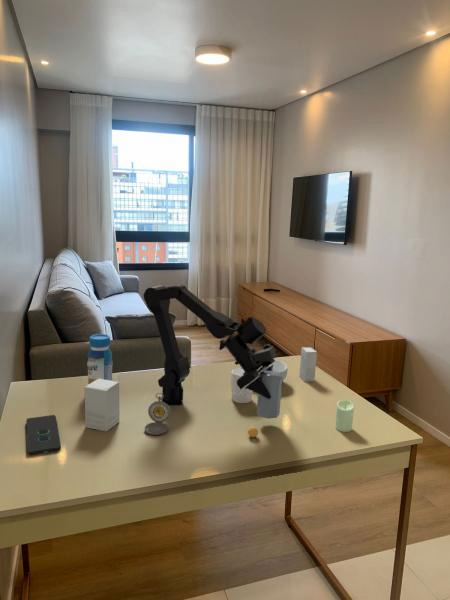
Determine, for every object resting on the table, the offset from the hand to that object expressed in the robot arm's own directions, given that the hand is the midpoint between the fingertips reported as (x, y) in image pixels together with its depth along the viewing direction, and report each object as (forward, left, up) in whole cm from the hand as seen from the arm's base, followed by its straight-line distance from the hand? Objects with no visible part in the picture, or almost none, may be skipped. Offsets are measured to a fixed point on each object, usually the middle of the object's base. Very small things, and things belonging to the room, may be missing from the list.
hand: (273, 394), depth 136 cm
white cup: (-5, +20, -10) cm, 23 cm away
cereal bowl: (+7, +35, -10) cm, 37 cm away
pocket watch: (-34, +1, -10) cm, 36 cm away
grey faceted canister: (-1, +1, -7) cm, 7 cm away
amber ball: (-7, -6, -10) cm, 14 cm away
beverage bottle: (-53, +29, -10) cm, 61 cm away
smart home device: (-66, -1, -11) cm, 67 cm away
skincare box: (+25, +38, -10) cm, 46 cm away
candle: (+22, -3, -10) cm, 24 cm away
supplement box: (-50, +5, -10) cm, 52 cm away
